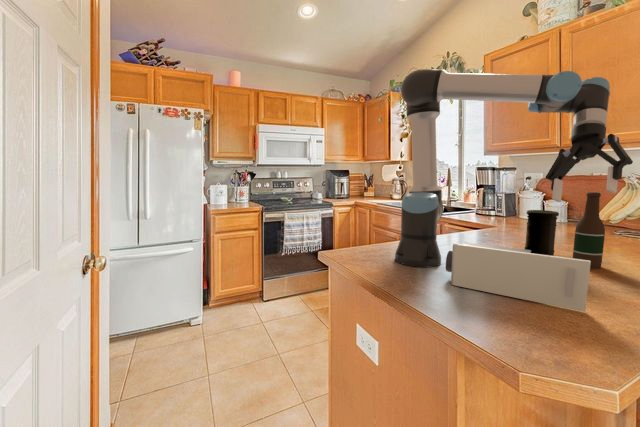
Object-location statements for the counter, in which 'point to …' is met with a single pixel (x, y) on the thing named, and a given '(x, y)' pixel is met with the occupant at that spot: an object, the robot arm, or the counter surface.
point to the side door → (522, 275)
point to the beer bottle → (590, 233)
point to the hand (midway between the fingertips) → (581, 196)
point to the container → (541, 232)
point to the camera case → (449, 255)
